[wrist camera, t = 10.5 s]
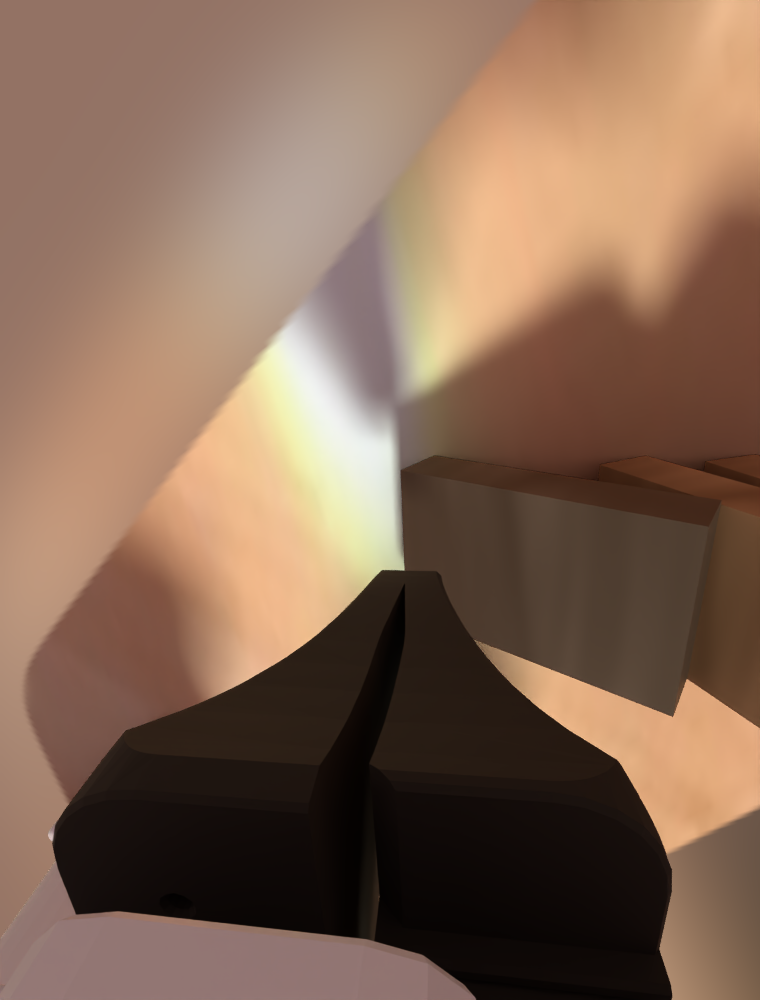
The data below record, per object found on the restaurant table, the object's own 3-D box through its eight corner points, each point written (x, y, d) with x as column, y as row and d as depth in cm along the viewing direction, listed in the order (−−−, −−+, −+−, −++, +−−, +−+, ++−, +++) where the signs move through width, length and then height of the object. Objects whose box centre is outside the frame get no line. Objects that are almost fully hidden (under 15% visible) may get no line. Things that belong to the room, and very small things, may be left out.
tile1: (406, 613, 15) (673, 716, 11) (400, 470, 14) (708, 526, 9) (436, 589, 16) (687, 675, 12) (434, 455, 15) (722, 500, 10)
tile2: (584, 609, 15) (879, 809, 9) (600, 464, 13) (968, 585, 7) (627, 596, 16) (931, 776, 9) (645, 455, 14) (1025, 561, 8)
